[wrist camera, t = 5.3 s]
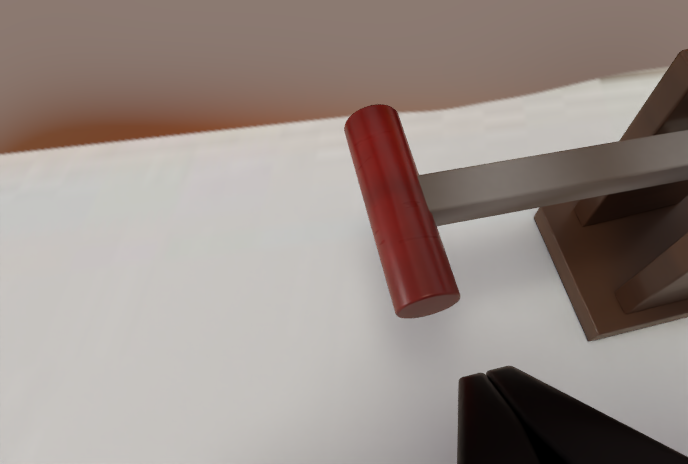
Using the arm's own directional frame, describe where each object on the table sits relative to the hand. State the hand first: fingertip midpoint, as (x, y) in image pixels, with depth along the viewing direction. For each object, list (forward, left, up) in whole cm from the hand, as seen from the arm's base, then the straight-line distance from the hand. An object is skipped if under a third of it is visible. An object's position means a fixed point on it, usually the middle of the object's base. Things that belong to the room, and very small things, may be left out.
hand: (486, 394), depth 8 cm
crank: (+2, -7, -5) cm, 9 cm away
